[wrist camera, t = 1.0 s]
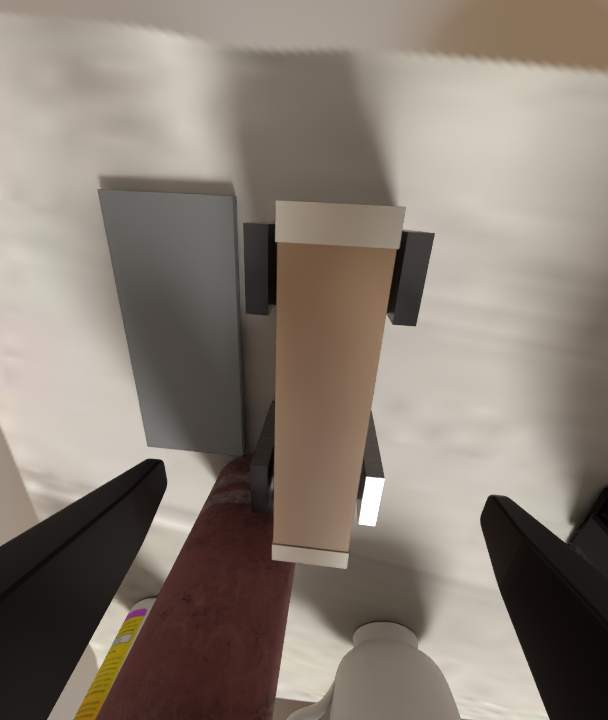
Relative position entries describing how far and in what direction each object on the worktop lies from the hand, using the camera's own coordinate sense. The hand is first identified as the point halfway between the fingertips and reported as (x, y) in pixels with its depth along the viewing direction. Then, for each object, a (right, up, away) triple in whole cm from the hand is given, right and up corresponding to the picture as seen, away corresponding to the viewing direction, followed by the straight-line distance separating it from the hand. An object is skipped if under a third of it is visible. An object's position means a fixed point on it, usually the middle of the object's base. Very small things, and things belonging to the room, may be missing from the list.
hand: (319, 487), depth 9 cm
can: (-3, -5, +13) cm, 15 cm away
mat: (-7, +5, +9) cm, 13 cm away
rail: (0, +2, +5) cm, 6 cm away
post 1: (+1, +8, +7) cm, 11 cm away
